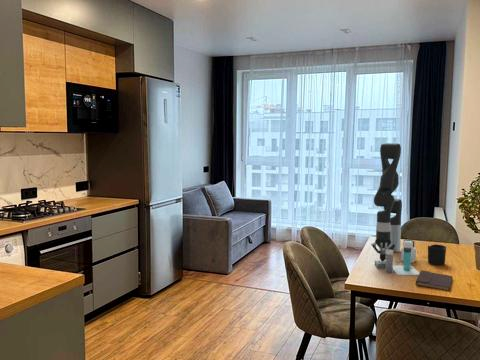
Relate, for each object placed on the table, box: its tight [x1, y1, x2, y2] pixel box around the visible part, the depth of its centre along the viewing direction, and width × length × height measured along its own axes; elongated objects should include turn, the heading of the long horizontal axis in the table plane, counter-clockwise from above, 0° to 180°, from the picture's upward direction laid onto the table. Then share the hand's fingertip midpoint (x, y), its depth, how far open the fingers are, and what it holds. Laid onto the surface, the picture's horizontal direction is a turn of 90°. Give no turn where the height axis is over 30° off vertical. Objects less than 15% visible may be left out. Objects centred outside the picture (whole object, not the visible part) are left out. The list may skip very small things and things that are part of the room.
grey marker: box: [384, 249, 394, 274], centre depth 226 cm, size 4×4×12 cm
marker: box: [402, 247, 412, 271], centre depth 228 cm, size 4×4×12 cm
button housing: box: [374, 260, 386, 270], centre depth 236 cm, size 7×7×2 cm
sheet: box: [393, 265, 420, 277], centre depth 228 cm, size 16×12×1 cm
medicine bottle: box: [400, 239, 417, 264], centre depth 248 cm, size 7×7×12 cm
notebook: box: [415, 269, 453, 292], centre depth 210 cm, size 15×20×2 cm
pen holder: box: [427, 243, 447, 266], centre depth 242 cm, size 9×9×10 cm
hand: (382, 260), depth 236 cm, fingers closed
